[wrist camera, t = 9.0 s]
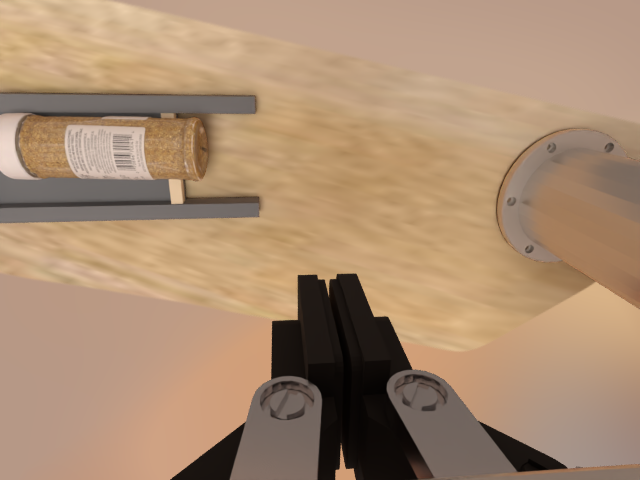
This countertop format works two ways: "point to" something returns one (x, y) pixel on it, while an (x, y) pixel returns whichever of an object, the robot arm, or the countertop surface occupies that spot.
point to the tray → (115, 194)
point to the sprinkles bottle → (102, 147)
